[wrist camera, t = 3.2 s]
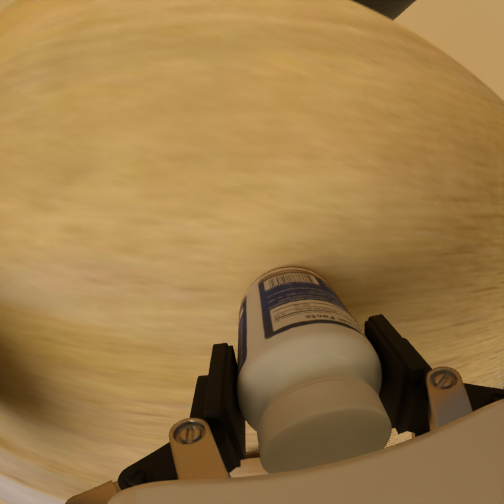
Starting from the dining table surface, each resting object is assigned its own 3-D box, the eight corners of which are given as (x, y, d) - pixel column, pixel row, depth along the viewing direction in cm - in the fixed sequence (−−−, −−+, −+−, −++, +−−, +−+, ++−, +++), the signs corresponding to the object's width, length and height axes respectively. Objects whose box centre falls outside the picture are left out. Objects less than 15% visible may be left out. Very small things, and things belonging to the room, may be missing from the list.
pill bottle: (292, 364, 17) (323, 502, 8) (220, 319, 16) (198, 466, 7) (353, 300, 16) (441, 419, 7) (282, 244, 15) (335, 353, 6)
